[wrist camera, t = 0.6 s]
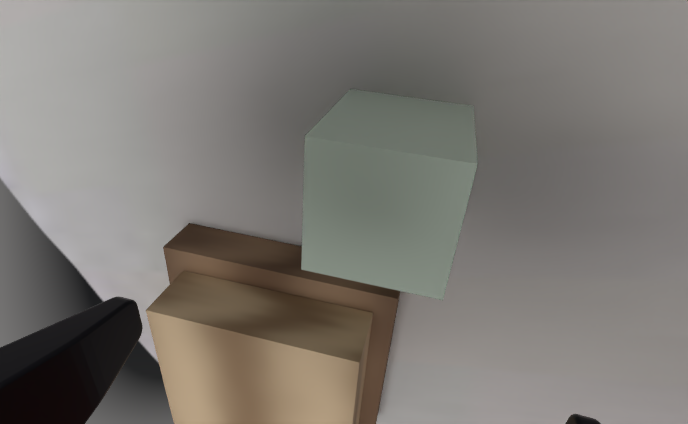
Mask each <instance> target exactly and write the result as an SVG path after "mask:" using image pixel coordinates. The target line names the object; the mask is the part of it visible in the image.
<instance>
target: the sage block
mask: <svg viewBox="0 0 688 424" xmlns="http://www.w3.org/2000/svg"><path fill="white" fill-rule="evenodd" d="M477 165H478V160H477V146H476V133H475V120H474V106H471V105H464V104H456V103H449V102H442V101H434V100H427V99H420V98H413V97H405V96H398V95H391V94H383V93H376V92H369V91H362V90H354V89H350V90H349V91H348V92H347V93H346V94H345V95H344V96H343V97H342V98H341V99H340V100H339V101H338V102H337V103H336V104H335V105H334V106H333V108H332V109H331V110H330V111H329V112H328V113H327V114H326V115H325V116H324V117H323V118H322V119H321V120H320V121H319V122H318V123H317V124H316V125H315V126H314V127H313V128H312V129H311V130H310V131H309V132H308V133H307V134H306V135H305V142H304V181H303V221H302V260H301V270H306V271H310V272H315V273H320V274H324V275H329V276H333V277H338V278H343V279H347V280H352V281H356V282H361V283H366V284H370V285H375V286H379V287H384V288H389V289H393V290H398V291H402V292H407V293H412V294H416V295H421V296H425V297H430V298H435V299H439V300H443V298H444V294H445V290H446V286H447V282H448V278H449V274H450V270H451V266H452V263H453V259H454V255H455V251H456V247H457V243H458V239H459V235H460V231H461V228H462V224H463V220H464V216H465V212H466V208H467V204H468V200H469V196H470V193H471V189H472V185H473V181H474V177H475V173H476V169H477Z"/></svg>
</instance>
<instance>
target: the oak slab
mask: <svg viewBox="0 0 688 424" xmlns="http://www.w3.org/2000/svg"><path fill="white" fill-rule="evenodd" d="M146 313H147V317H148V321H149V325H150V329H151V333H152V337H153V341H154V345H155V349H156V353H157V357H158V361H159V365H160V369H161V373H162V377H163V381H164V385H165V389H166V393H167V397H168V401H169V405H170V409H171V413H172V417H173V421H174V424H359V418H360V410H361V402H362V394H363V387H364V379H365V371H366V363H367V355H368V348H369V340H370V332H371V324H372V316H373V313H371V312H367V311H362V310H358V309H353V308H349V307H344V306H340V305H336V304H331V303H327V302H322V301H318V300H313V299H309V298H304V297H300V296H295V295H291V294H286V293H282V292H277V291H273V290H268V289H264V288H259V287H255V286H250V285H246V284H241V283H237V282H232V281H228V280H223V279H219V278H214V277H210V276H205V275H201V274H196V273H192V272H187V271H182V272H181V273H180V275H179V276H178V277H177V278H176V279H175V280H174V281H173V282H172V283H171V284H170V285H169V286H168V287H167V288H166V289H165V290H164V292H163V293H162V294H161V295H160V296H159V297H158V298H157V299H156V300H155V301H154V302H153V303H152V304H151V305H150V306H149V307H148V309H147V310H146Z"/></svg>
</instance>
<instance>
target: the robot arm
mask: <svg viewBox="0 0 688 424" xmlns="http://www.w3.org/2000/svg"><path fill="white" fill-rule="evenodd" d="M141 333H142V322H141V318H140V314H139V310H138V306H137V303H136V302H135V301H134V300H131V299H127V298H123V297H114V298H111V299H109V300H107V301H105V302H102V303H100V304H98V305H96V306H93V307H91V308H89V309H86V310H84V311H82V312H80V313H77V314H75V315H73V316H71V317H68V318H66V319H64V320H62V321H59V322H57V323H55V324H53V325H51V326H48V327H46V328H44V329H41V330H39V331H37V332H35V333H32V334H30V335H28V336H25V337H23V338H21V339H19V340H17V341H14V342H12V343H10V344H7V345H5V346H3V347H1V348H0V424H85V423H86V421H87V420H88V419H89V417H90V416H91V415H92V413H93V412H94V410H95V409H96V408H97V406H98V405H99V403H100V402H101V400H102V399H103V397H104V396H105V394H106V393H107V391H108V389H109V388H110V386H111V384H112V383H113V381H114V380H115V378H116V376H117V375H118V373H119V371H120V370H121V368H122V366H123V365H124V363H125V361H126V360H127V358H128V356H129V355H130V353H131V351H132V350H133V348H134V346H135V345H136V343H137V341H138V340H139V338H140V336H141ZM566 424H601V423H600V422H598V421H597V420H596V419H593V418H590V417H586V416H582V415H578V414H573V415H571V416H570V417H569V419H568V420H567V422H566Z"/></svg>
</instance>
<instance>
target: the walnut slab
mask: <svg viewBox="0 0 688 424" xmlns="http://www.w3.org/2000/svg"><path fill="white" fill-rule="evenodd" d="M163 248H164V254H165V259H166V265H167V270H168V276H169V281H170V284H171V283H172V282H173V281H174V280H175V279H176V278H177V277H178V276H179V275H180V273H181V272H182V271H187V272H192V273H196V274H201V275H205V276H210V277H214V278H219V279H223V280H228V281H232V282H237V283H241V284H246V285H250V286H255V287H259V288H264V289H268V290H273V291H277V292H282V293H286V294H291V295H295V296H300V297H304V298H309V299H313V300H318V301H322V302H327V303H331V304H336V305H340V306H344V307H349V308H353V309H358V310H362V311H367V312H371V313H373V316H372V324H371V332H370V340H369V348H368V355H367V363H366V371H365V379H364V387H363V394H362V402H361V410H360V418H359V424H376V421H377V415H378V410H379V405H380V399H381V394H382V388H383V383H384V377H385V372H386V366H387V361H388V355H389V350H390V344H391V339H392V334H393V328H394V323H395V317H396V312H397V306H398V301H399V295H400V291H398V290H393V289H389V288H384V287H379V286H375V285H370V284H366V283H361V282H356V281H352V280H347V279H343V278H338V277H333V276H329V275H324V274H320V273H315V272H310V271H306V270H301V260H302V246H297V245H292V244H287V243H282V242H278V241H273V240H268V239H263V238H258V237H253V236H249V235H244V234H239V233H234V232H229V231H224V230H220V229H215V228H210V227H205V226H200V225H195V224H190V223H189V224H188V225H187V226H186V227H185V228H184V229H183V230H181V231H180V232H179V233H178V234H177V235H176V236H175V237H174V238H173V239H172V240H170V241H169V242H168V243H167V244H166V245H165V246H164V247H163Z"/></svg>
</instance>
